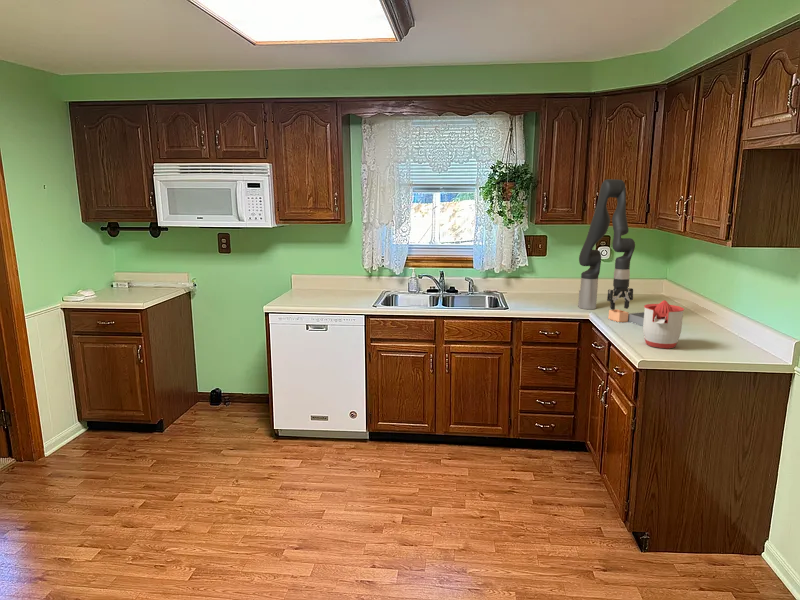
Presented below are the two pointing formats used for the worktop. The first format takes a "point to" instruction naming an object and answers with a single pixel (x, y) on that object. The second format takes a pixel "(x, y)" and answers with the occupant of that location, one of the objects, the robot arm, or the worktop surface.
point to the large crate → (636, 318)
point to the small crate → (618, 315)
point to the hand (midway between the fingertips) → (619, 308)
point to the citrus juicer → (662, 324)
